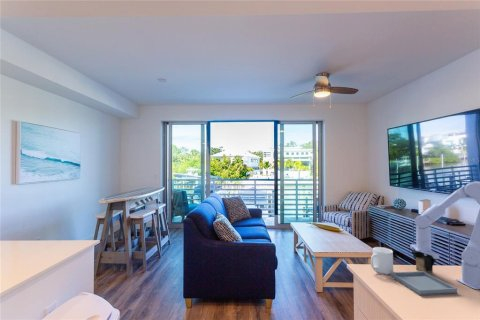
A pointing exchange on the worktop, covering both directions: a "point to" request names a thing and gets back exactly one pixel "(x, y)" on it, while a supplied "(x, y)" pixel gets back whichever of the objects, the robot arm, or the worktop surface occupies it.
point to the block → (421, 265)
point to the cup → (382, 260)
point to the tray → (423, 283)
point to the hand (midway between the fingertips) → (424, 268)
